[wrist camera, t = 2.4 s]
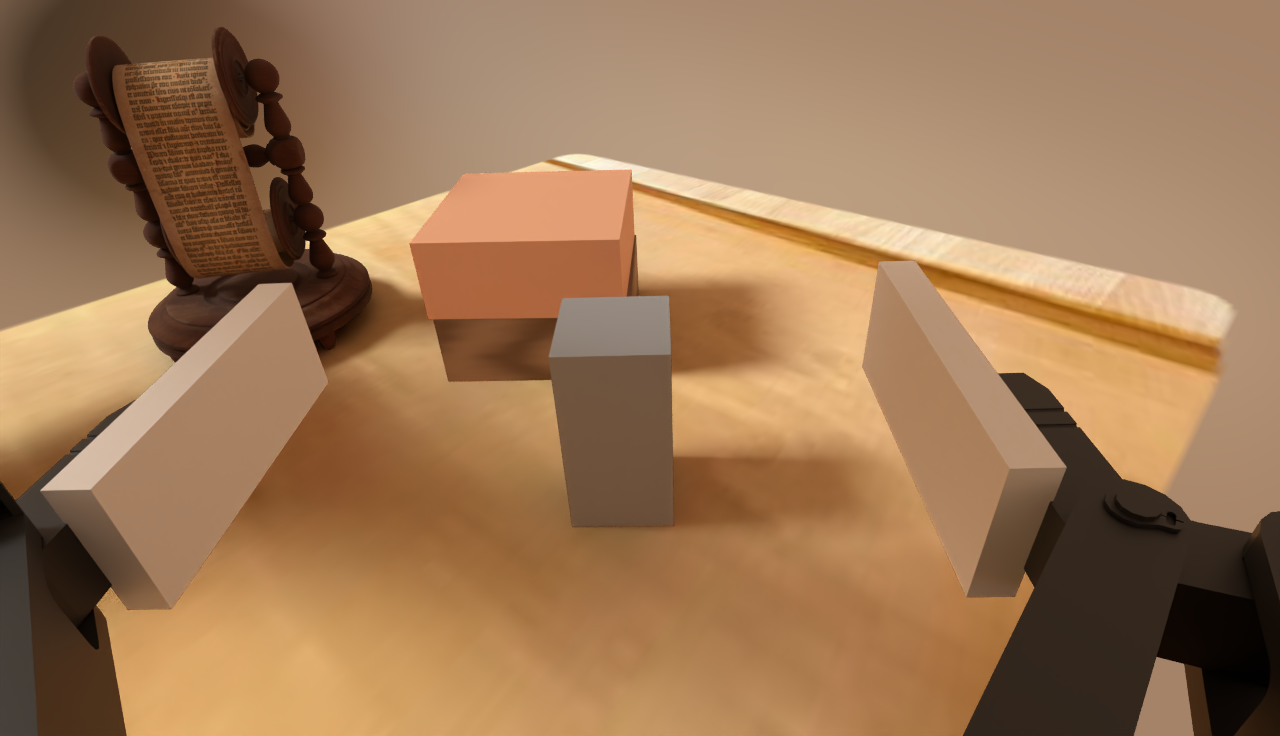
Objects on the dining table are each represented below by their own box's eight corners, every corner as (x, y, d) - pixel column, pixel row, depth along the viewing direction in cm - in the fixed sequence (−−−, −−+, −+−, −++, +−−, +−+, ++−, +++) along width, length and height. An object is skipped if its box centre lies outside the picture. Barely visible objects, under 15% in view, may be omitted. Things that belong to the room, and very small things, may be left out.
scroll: (129, 396, 44) (-63, 65, 33) (201, 292, 56) (78, 23, 45) (365, 363, 46) (261, 41, 35) (386, 270, 58) (313, 7, 47)
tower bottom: (449, 386, 44) (433, 320, 42) (488, 297, 54) (477, 239, 52) (633, 383, 44) (629, 315, 41) (638, 294, 54) (635, 234, 51)
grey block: (572, 526, 34) (548, 357, 28) (581, 458, 38) (562, 298, 32) (673, 525, 33) (671, 354, 28) (672, 456, 37) (669, 295, 32)
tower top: (428, 319, 42) (409, 243, 39) (476, 239, 52) (463, 173, 49) (624, 317, 41) (619, 239, 38) (634, 236, 51) (631, 169, 48)
